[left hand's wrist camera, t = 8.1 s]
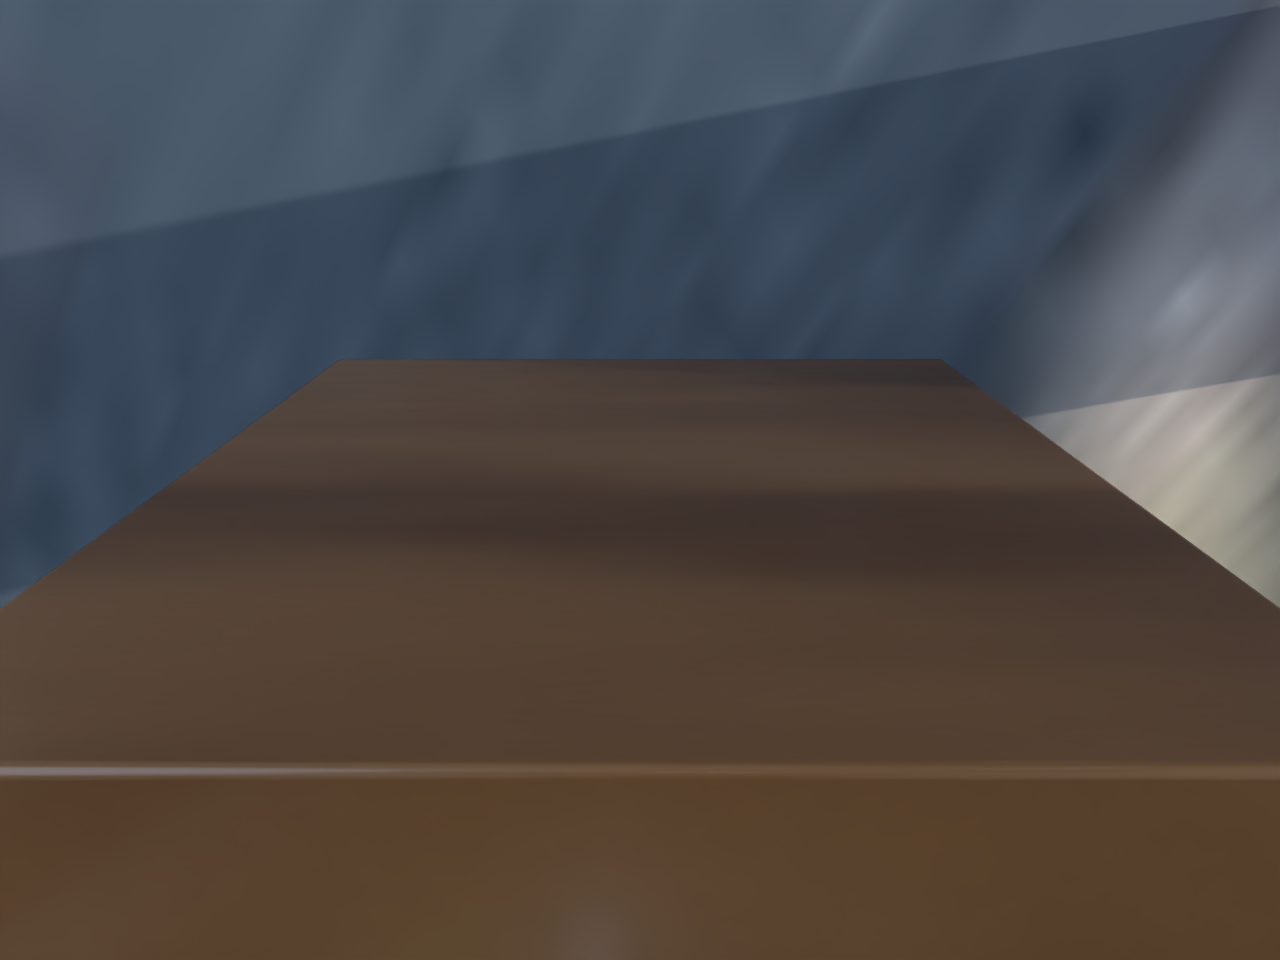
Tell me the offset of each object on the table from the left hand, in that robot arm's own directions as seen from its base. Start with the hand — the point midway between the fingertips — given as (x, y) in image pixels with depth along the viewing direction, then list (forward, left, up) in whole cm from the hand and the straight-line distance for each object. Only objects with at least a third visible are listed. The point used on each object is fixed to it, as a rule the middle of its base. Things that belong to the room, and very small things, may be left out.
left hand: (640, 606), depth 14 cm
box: (+9, +5, -1) cm, 10 cm away
